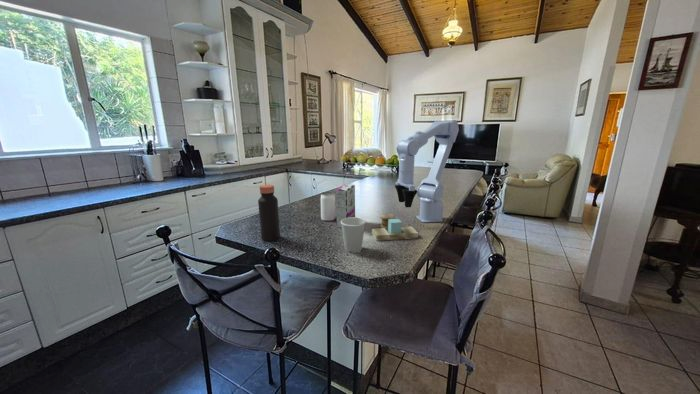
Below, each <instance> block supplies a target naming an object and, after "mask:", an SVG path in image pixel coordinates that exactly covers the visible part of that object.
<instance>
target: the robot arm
mask: <svg viewBox="0 0 700 394" xmlns="http://www.w3.org/2000/svg"><path fill="white" fill-rule="evenodd" d="M459 127H460V126H459V123H458V121H457V120H436V121H434V122H432V123H431V125H430V126H429V127H428V128H427V129H425V130H424V131H421V130H417V131H415V132H414V134H413V135H412V136H408V137H407V139H402V140H401V141H399V142H398V143H397V147H396V153H397V155H398V156H397V157H398V159H399V161H398V162H399V165H398V178H397V181H395V185H394V188H395V190H396V194H397V198H398V202H399V203H404V206H405V208H411V207H412V205H413V201H414V198H415V197H416V195H417V197H418V200H420V203H419V215H416V216H415V217H416V218H417V219H418V220H419V221H420V222H421V223H437V222H438V223H439V222H441V223H442V222H444V220H443V215H444V214H443V213H444V204H443V201H442V200H441V199H442V197H443V190H444V185H443V183H442V182H441V181H440V180H441V178H442V175H443V172H444V170H445V167H446V164H447V161H448V159H449V156H450V153H451V150H452V148H453V145H454V143H455V142H456V140H457V136H458V133H459V131H460V129H459ZM433 137H434V139H435V141H436V142H437V143H438V144H439V145H438V148H437V150H436V154H435V156H434V159H433V162H432V164H431V167H430V171H429V173H428V175H427V177H425V178H424V179H422V180H421V182H420V184H419V185H418V187H417V188H416V186H415V183H414V175H415V174H414V173H415V156H416V155H417V154H418V152H419V150H420V149H421V148H422V147H424V146H426V144H427V143H428V142H429V139H431V138H433Z"/></svg>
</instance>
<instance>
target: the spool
mask: <svg viewBox="0 0 700 394" xmlns="http://www.w3.org/2000/svg"><path fill="white" fill-rule="evenodd" d="M379 216H380V217H379V218H380V219H381V224H380V225H379V227H380V228H385V229H386V231H388V219H396V215H395V214H392V213H381V214H380V215H379Z"/></svg>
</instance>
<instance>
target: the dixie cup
mask: <svg viewBox="0 0 700 394" xmlns="http://www.w3.org/2000/svg"><path fill="white" fill-rule="evenodd" d="M366 222H367V221H366V220H365V219H363V218H362V217H356V216H355V217H350V218H345V219H343V220H341V224H342V228H341V230H342V231H341V232H342V236H343V244H344V250H345V252H347V253H348V252H349V253H358V252H360V251H361V252H362V248H363V247H362V246H363V241H364V240H363V239H364V233H365V226H366Z"/></svg>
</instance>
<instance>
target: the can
mask: <svg viewBox="0 0 700 394" xmlns="http://www.w3.org/2000/svg"><path fill="white" fill-rule="evenodd" d="M320 194H321V195H320V220H321V221H324V222H331V221H335V220H336V194H335V193H334V192H333V191H325V192H321V193H320Z"/></svg>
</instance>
